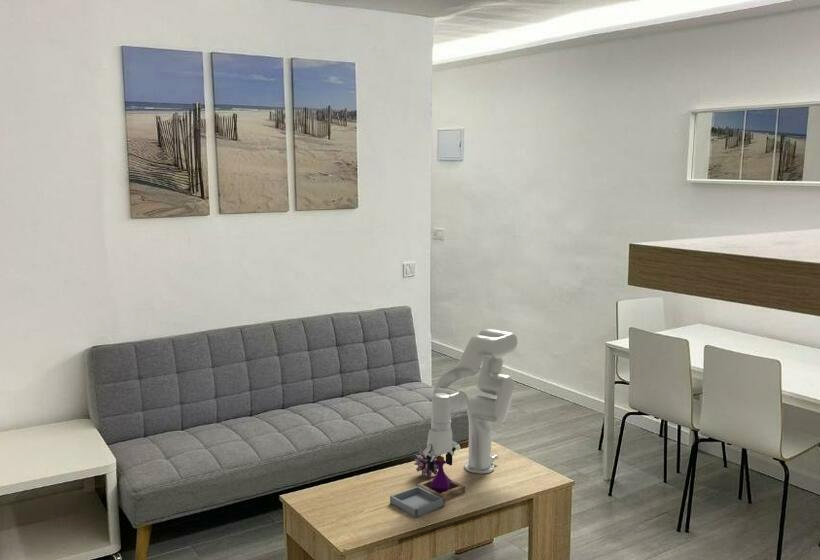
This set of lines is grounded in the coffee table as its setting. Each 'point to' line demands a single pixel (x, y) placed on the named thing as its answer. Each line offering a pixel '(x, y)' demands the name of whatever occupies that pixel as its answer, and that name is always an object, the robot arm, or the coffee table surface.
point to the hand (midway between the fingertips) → (439, 467)
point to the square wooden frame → (445, 495)
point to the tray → (417, 501)
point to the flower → (425, 464)
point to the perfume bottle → (440, 477)
